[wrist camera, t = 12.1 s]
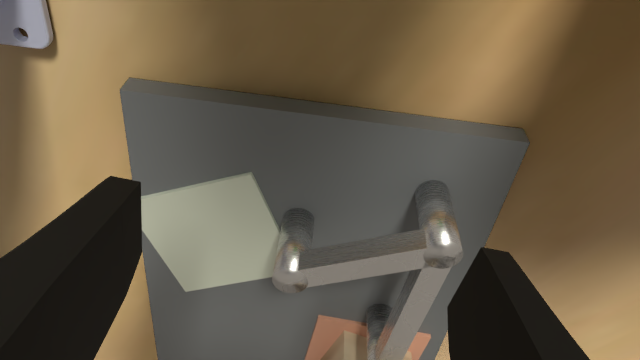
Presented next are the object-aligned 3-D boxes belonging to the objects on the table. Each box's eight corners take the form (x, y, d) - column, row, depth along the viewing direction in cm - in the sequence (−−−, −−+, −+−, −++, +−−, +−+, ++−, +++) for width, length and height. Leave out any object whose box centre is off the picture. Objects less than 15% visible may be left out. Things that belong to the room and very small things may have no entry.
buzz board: (156, 352, 31) (150, 370, 30) (117, 76, 20) (105, 90, 19) (416, 382, 32) (417, 401, 31) (522, 128, 20) (531, 145, 19)
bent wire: (274, 308, 26) (264, 370, 24) (287, 161, 21) (277, 220, 18) (403, 324, 27) (409, 387, 24) (453, 182, 21) (468, 243, 18)
